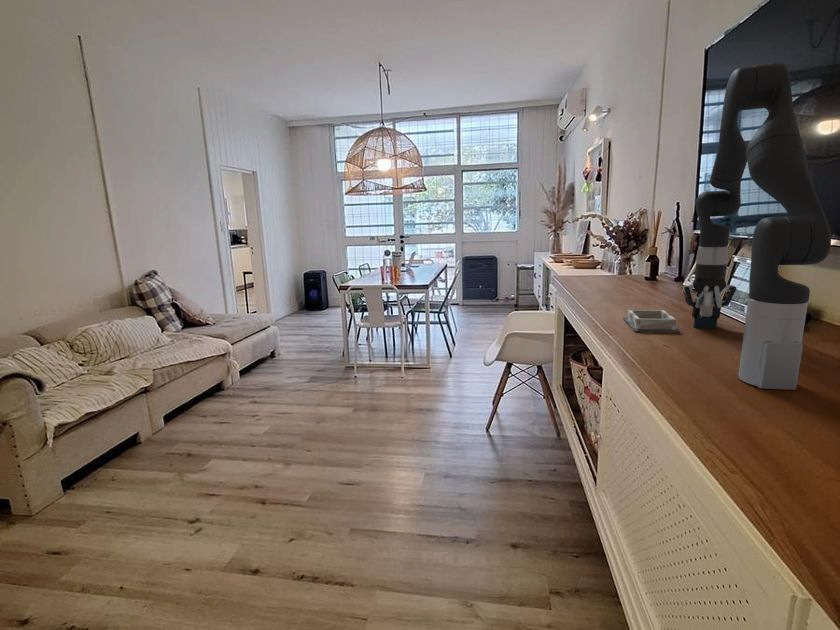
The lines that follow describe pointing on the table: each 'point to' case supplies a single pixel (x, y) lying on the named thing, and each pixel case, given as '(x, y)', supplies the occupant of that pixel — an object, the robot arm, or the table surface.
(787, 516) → the table surface
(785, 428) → the table surface
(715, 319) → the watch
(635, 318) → the holder
